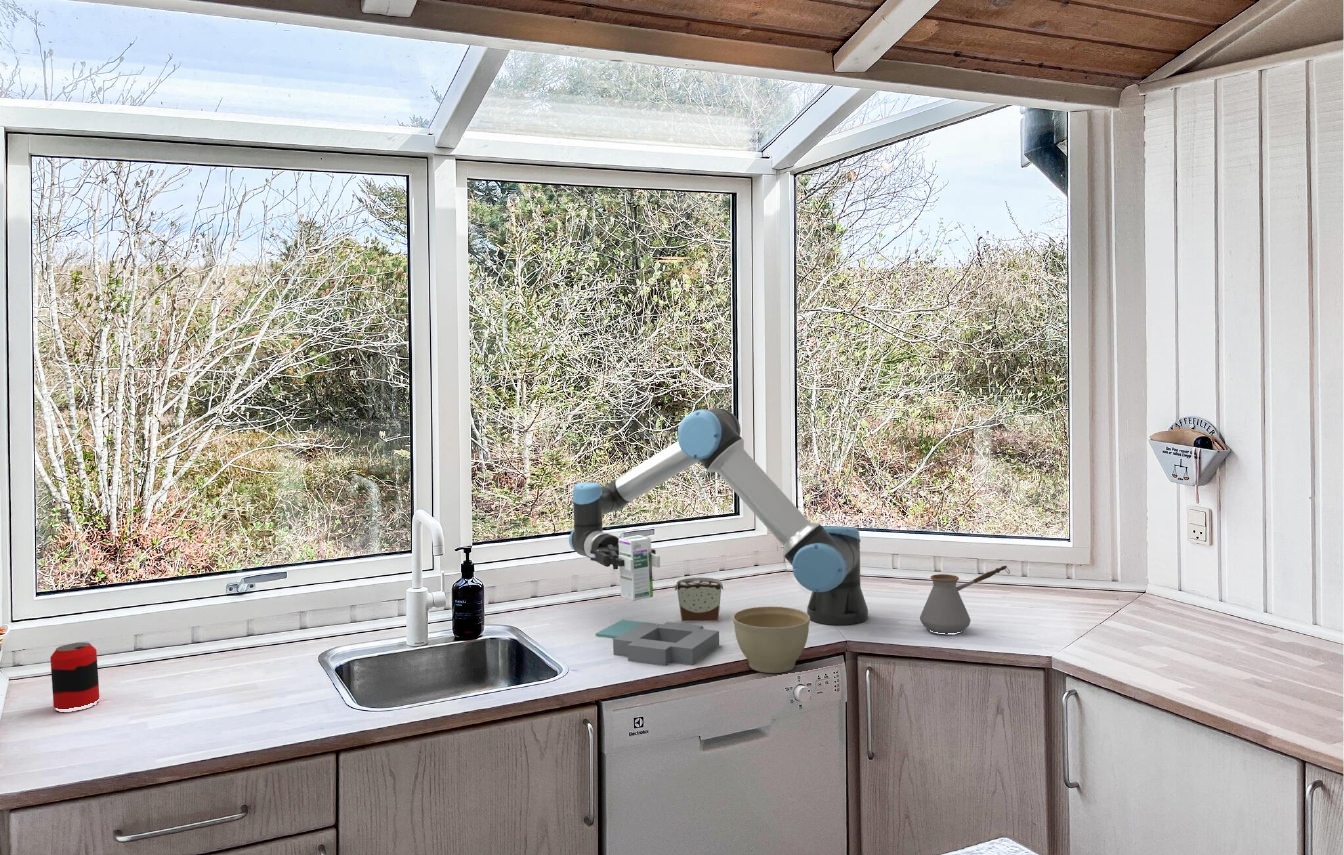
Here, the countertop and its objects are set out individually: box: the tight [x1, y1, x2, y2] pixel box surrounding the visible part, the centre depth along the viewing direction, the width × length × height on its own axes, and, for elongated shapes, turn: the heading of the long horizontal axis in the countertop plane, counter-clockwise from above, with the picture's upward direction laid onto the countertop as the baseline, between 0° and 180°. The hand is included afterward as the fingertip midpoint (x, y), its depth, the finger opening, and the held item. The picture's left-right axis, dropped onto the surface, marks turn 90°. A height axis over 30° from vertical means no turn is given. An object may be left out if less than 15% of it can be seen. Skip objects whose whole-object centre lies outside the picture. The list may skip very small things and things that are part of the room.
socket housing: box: [612, 621, 720, 666], centre depth 201 cm, size 20×20×4 cm
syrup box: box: [618, 534, 654, 602], centre depth 212 cm, size 6×6×14 cm
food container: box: [674, 576, 725, 623], centre depth 227 cm, size 12×6×10 cm, turn 84°
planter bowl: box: [732, 605, 811, 674], centre depth 188 cm, size 16×16×11 cm
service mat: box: [595, 619, 664, 639], centre depth 217 cm, size 13×13×1 cm
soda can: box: [49, 641, 100, 709], centre depth 176 cm, size 8×8×12 cm
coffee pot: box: [919, 565, 1011, 634], centre depth 210 cm, size 21×12×15 cm, turn 93°
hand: (645, 563), depth 208 cm, fingers closed on syrup box, 6 cm apart
